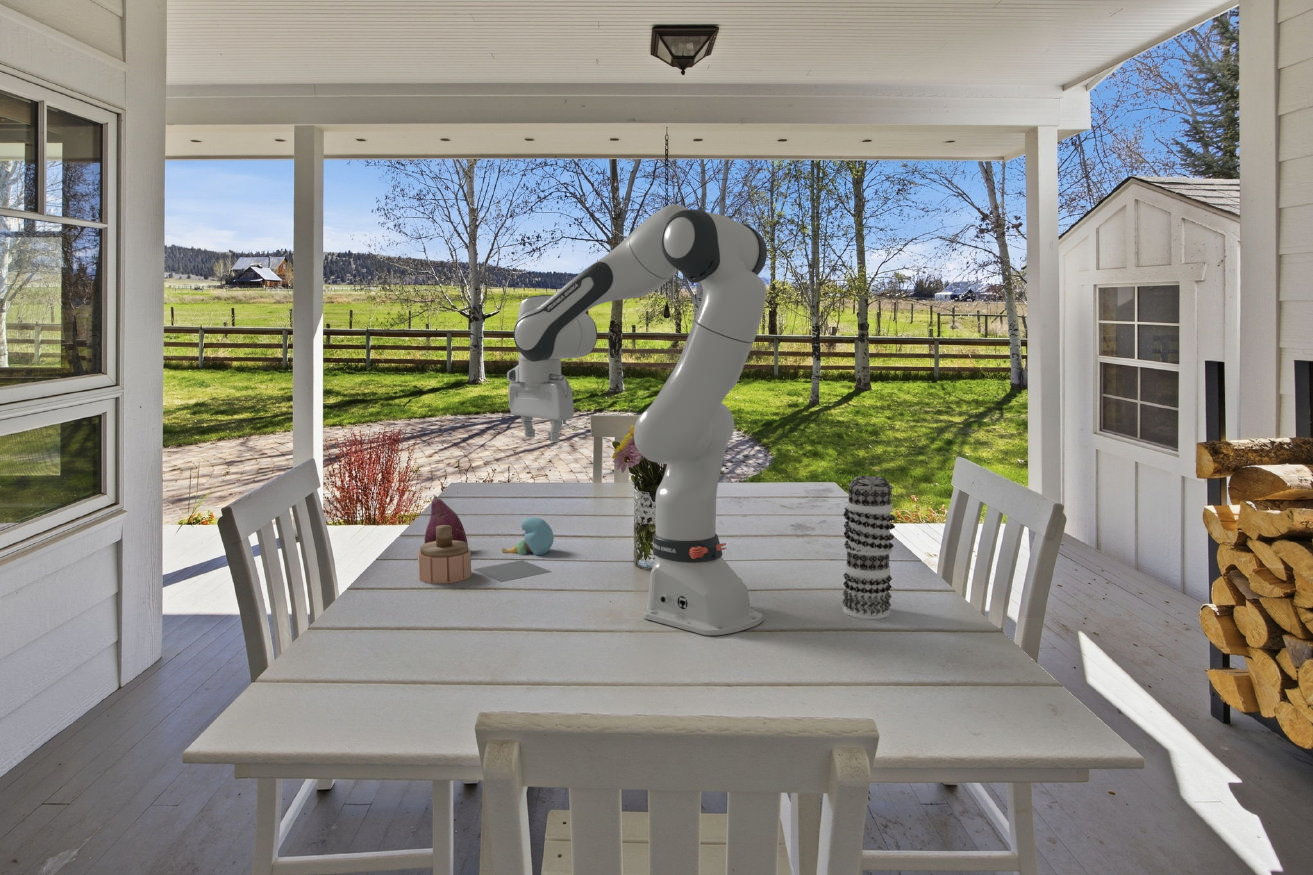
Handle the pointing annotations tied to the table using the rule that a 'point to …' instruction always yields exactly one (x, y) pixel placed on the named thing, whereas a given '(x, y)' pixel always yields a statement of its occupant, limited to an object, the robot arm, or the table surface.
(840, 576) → the table surface
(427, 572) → the faceted hollow tube
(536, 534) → the toy flower bud
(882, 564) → the decorative candle
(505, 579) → the mat
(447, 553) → the lid
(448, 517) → the vegetable
